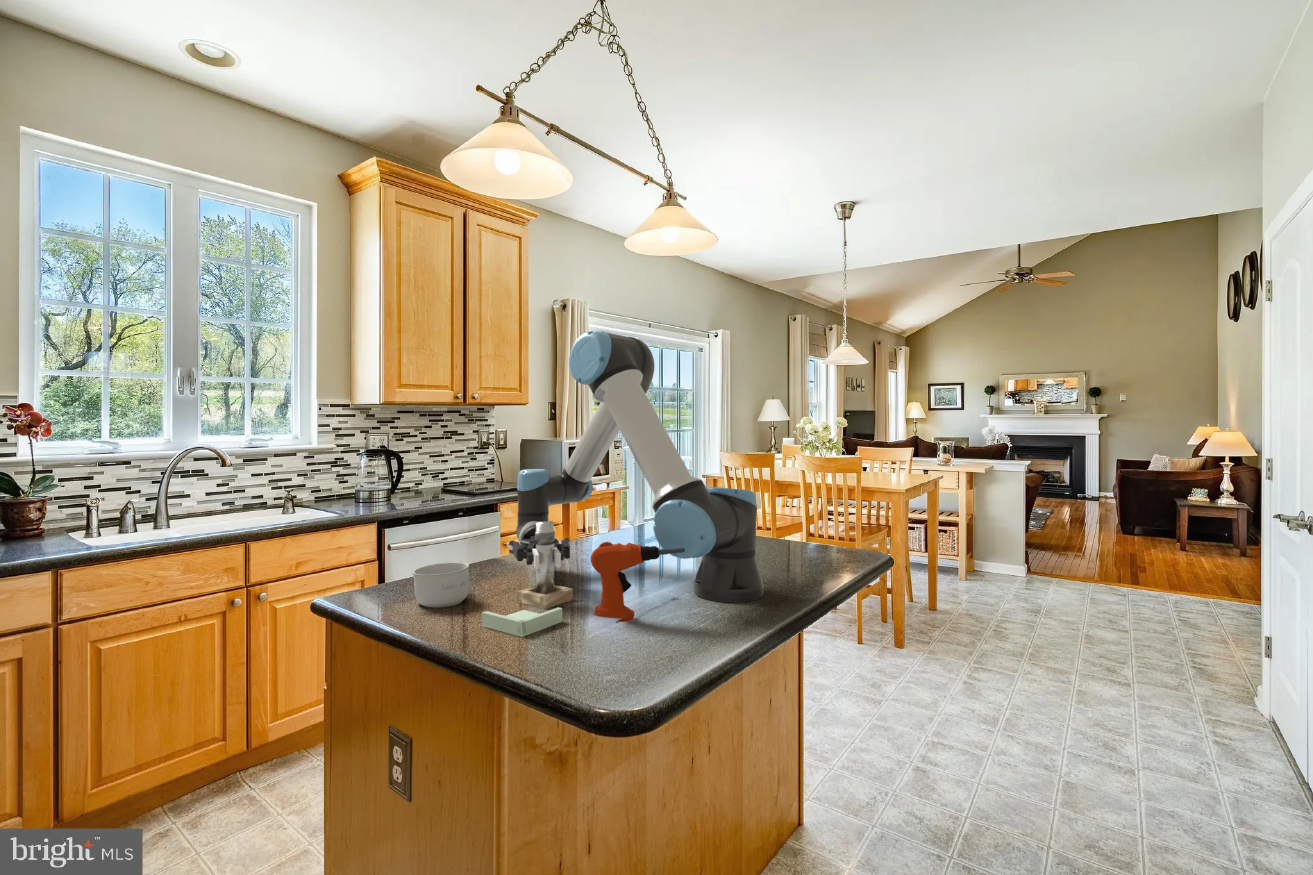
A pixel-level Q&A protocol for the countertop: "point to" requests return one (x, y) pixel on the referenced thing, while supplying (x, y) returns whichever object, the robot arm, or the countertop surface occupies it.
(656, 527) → the robot arm
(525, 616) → the pale green flat tray
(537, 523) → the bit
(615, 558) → the toy drill
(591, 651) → the countertop surface
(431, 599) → the teacup
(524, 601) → the socket
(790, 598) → the countertop surface
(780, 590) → the countertop surface
